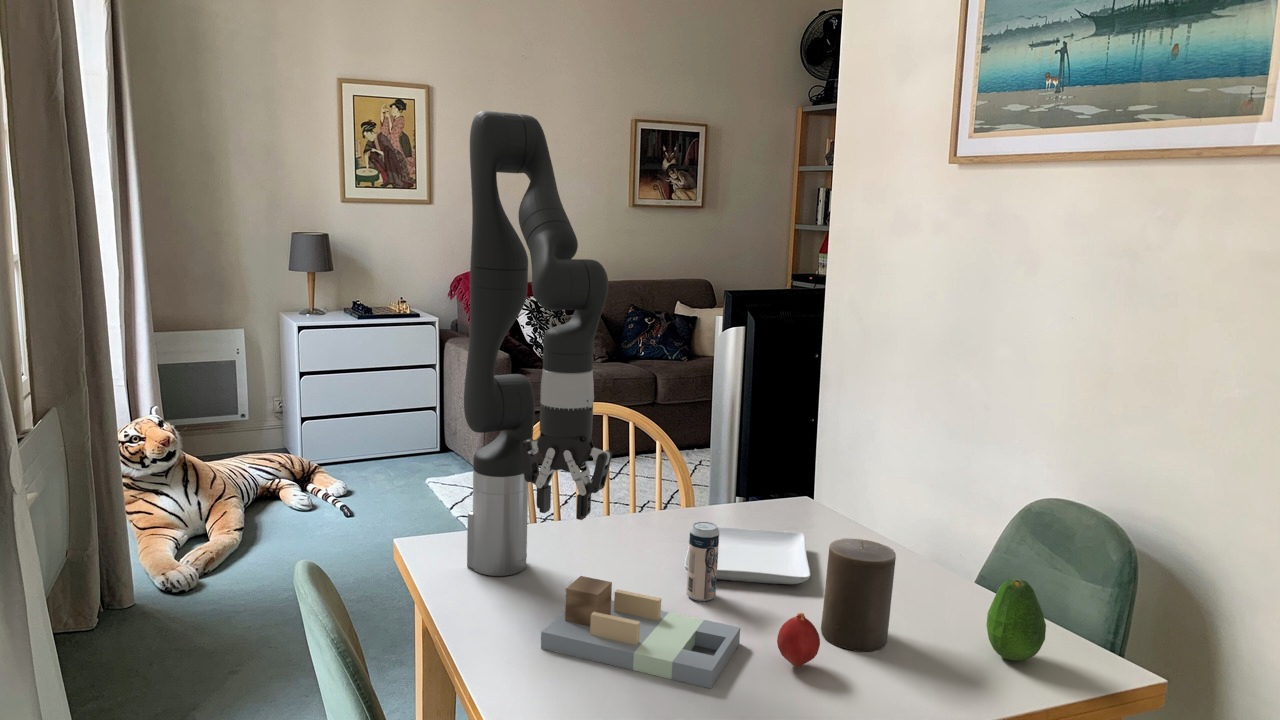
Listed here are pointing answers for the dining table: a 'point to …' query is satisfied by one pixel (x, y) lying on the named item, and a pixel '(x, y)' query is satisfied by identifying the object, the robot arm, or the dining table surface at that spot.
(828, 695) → the dining table surface
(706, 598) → the beer can
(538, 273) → the robot arm
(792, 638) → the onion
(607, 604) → the block
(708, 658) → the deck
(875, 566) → the pillar candle
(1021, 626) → the avocado
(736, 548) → the salad plate
